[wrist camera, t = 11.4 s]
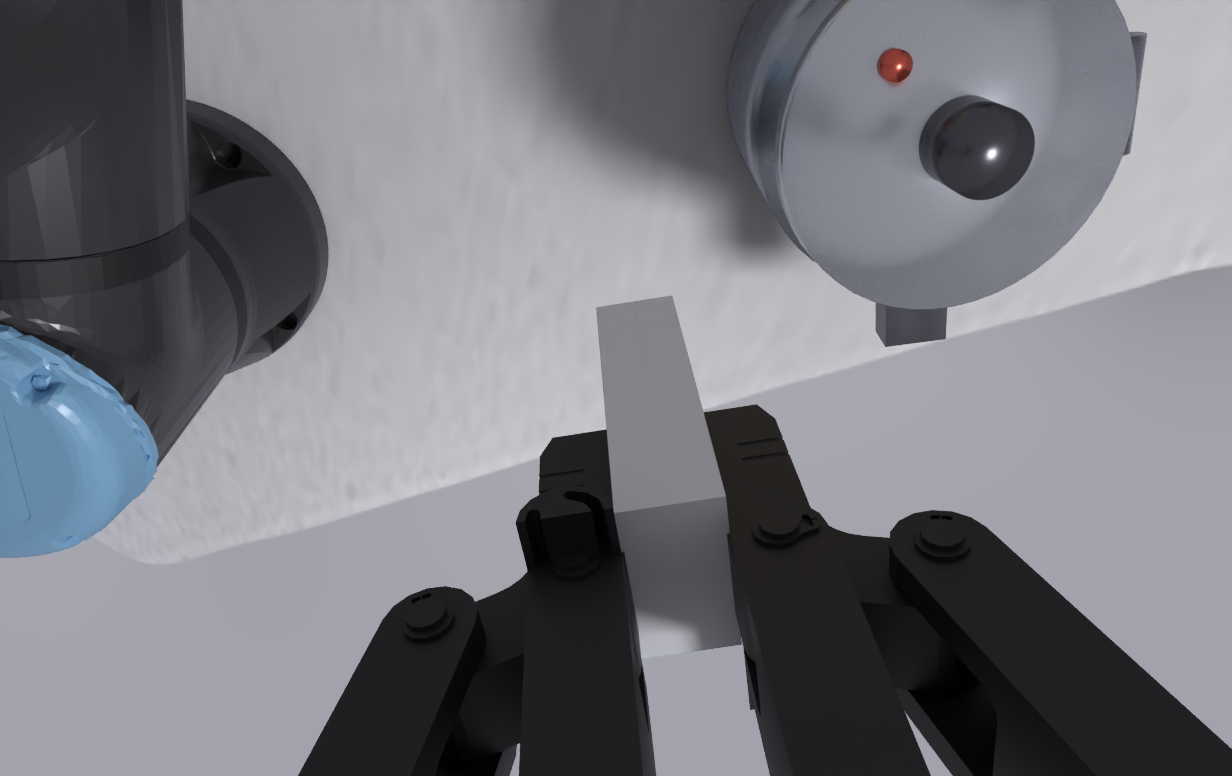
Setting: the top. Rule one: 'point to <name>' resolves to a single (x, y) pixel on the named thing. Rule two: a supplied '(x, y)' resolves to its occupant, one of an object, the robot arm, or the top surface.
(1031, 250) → the lid
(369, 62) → the top surface
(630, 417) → the robot arm
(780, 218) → the pot
